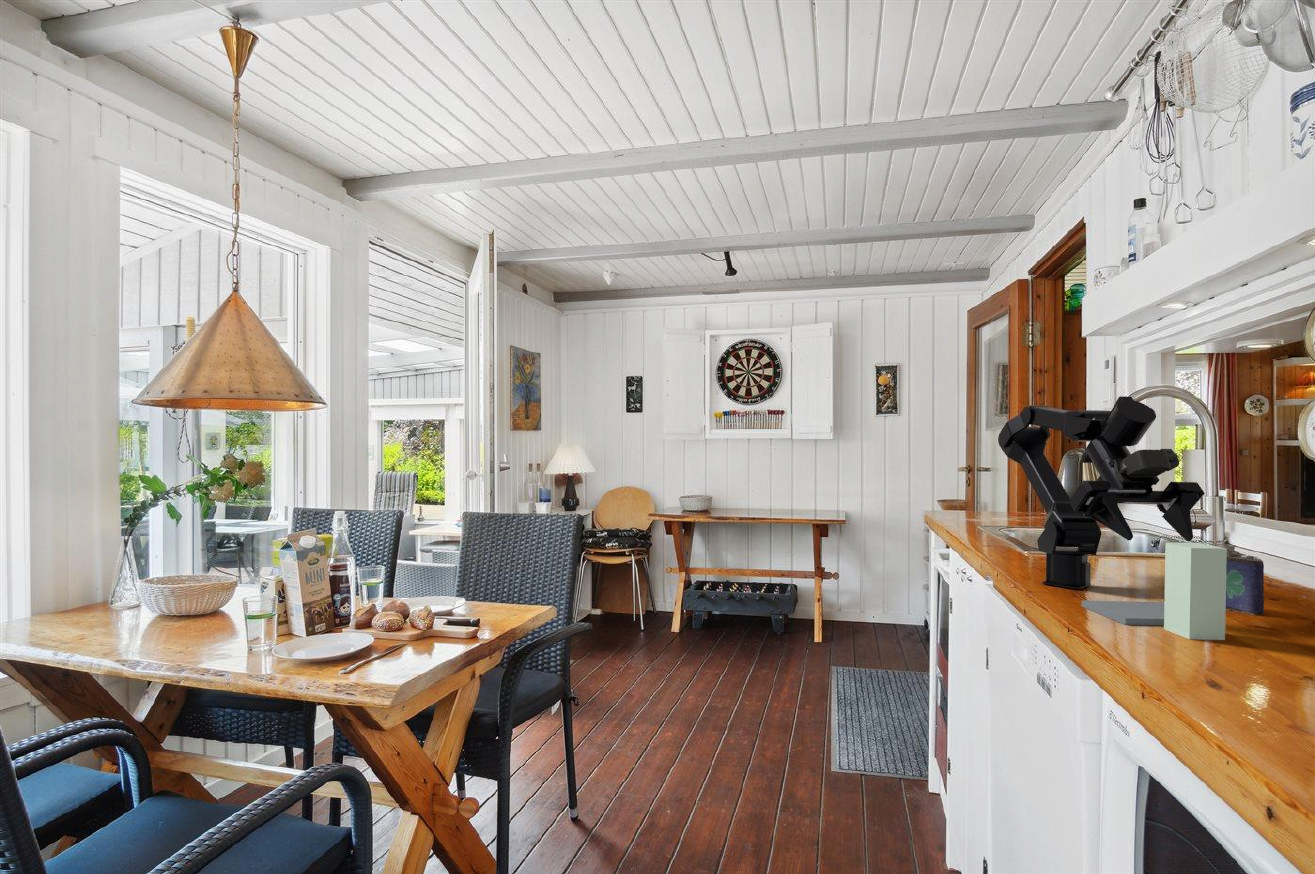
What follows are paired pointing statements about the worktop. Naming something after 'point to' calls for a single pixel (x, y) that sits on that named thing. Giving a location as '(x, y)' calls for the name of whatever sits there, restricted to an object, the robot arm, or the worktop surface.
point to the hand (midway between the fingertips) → (1160, 539)
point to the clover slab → (1244, 583)
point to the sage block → (1195, 590)
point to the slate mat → (1129, 611)
